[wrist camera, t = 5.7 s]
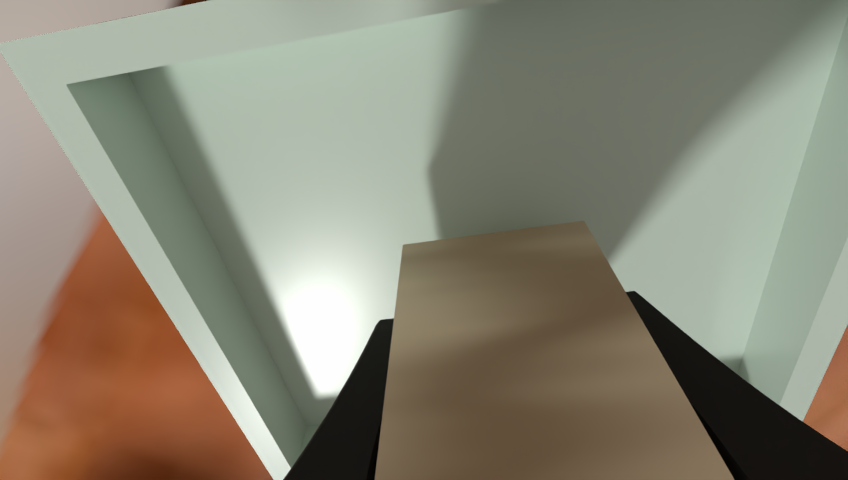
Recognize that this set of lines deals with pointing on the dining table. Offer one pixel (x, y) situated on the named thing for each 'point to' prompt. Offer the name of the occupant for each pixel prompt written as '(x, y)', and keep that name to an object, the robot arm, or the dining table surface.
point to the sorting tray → (459, 169)
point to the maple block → (530, 369)
